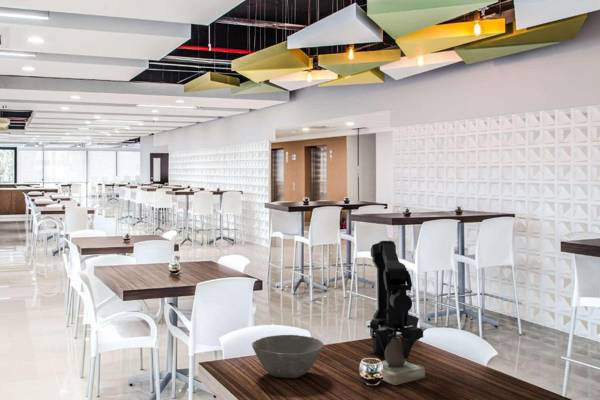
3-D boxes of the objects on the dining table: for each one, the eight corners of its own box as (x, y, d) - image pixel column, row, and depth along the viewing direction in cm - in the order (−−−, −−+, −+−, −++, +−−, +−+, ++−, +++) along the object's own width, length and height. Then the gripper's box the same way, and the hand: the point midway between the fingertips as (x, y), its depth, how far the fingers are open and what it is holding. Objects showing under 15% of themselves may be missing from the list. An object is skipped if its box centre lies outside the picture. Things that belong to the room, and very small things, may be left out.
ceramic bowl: (254, 364, 190) (254, 334, 190) (321, 364, 190) (322, 334, 190) (248, 386, 167) (248, 353, 167) (325, 386, 168) (325, 353, 168)
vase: (406, 369, 174) (406, 341, 174) (384, 368, 175) (384, 340, 175) (406, 362, 181) (406, 335, 181) (385, 361, 182) (385, 334, 182)
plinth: (366, 373, 180) (366, 363, 180) (395, 366, 187) (395, 357, 187) (395, 385, 169) (395, 374, 169) (425, 377, 176) (425, 367, 176)
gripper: (435, 308, 175) (435, 358, 175) (393, 299, 190) (393, 344, 190) (410, 312, 168) (410, 364, 169) (369, 302, 184) (368, 349, 184)
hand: (395, 355), depth 178 cm, fingers open, 9 cm apart
